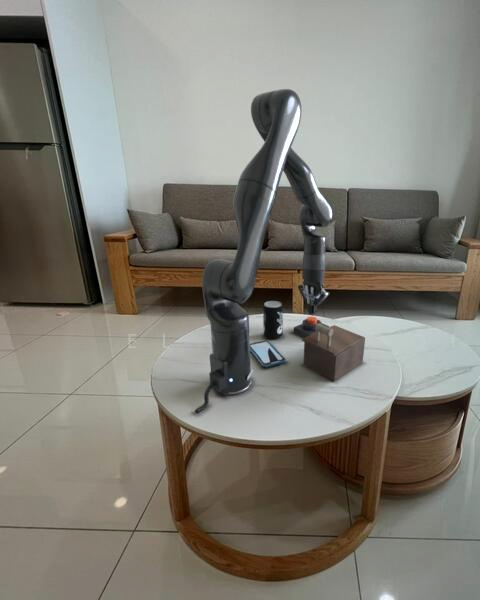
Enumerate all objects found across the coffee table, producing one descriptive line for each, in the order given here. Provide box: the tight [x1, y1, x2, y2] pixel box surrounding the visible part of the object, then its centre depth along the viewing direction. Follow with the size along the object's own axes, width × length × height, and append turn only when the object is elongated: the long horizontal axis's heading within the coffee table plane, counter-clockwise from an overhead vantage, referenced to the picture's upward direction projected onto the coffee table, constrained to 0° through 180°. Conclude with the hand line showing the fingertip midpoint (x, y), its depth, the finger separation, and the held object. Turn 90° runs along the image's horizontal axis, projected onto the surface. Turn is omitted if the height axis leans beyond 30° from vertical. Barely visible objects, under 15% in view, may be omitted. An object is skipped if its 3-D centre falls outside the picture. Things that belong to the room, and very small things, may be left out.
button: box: [306, 316, 318, 325], centre depth 114 cm, size 4×4×2 cm
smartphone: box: [250, 339, 287, 368], centre depth 99 cm, size 7×1×15 cm
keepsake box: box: [303, 339, 366, 382], centre depth 94 cm, size 14×12×8 cm
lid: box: [301, 324, 366, 356], centre depth 91 cm, size 14×12×6 cm
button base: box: [293, 318, 330, 338], centre depth 114 cm, size 10×8×4 cm
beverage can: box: [262, 300, 284, 340], centre depth 109 cm, size 7×7×12 cm
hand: (312, 313), depth 113 cm, fingers closed
